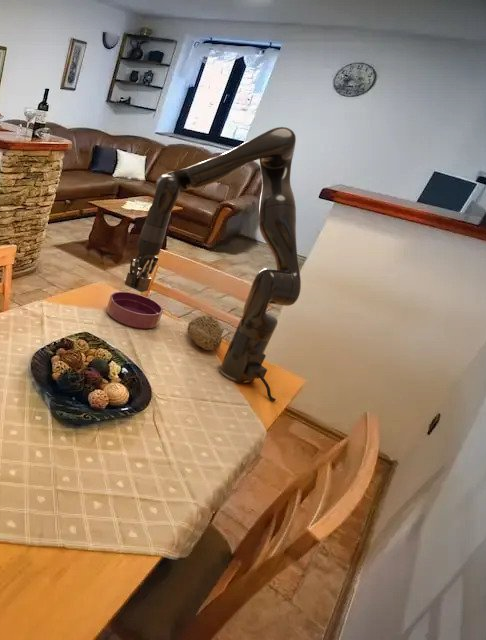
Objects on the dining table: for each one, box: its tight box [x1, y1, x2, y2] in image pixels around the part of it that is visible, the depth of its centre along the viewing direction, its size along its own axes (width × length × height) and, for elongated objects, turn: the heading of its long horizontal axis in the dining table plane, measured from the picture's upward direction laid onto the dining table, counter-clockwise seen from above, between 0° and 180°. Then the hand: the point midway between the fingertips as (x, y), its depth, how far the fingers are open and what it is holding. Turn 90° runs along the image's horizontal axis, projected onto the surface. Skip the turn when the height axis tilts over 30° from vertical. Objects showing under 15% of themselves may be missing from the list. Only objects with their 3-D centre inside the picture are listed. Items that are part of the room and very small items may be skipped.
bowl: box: [106, 291, 164, 329], centre depth 173 cm, size 18×18×6 cm
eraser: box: [124, 271, 152, 293], centre depth 169 cm, size 7×4×4 cm, turn 45°
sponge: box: [186, 314, 225, 351], centre depth 166 cm, size 13×8×20 cm
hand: (136, 286), depth 170 cm, fingers closed on eraser, 4 cm apart
